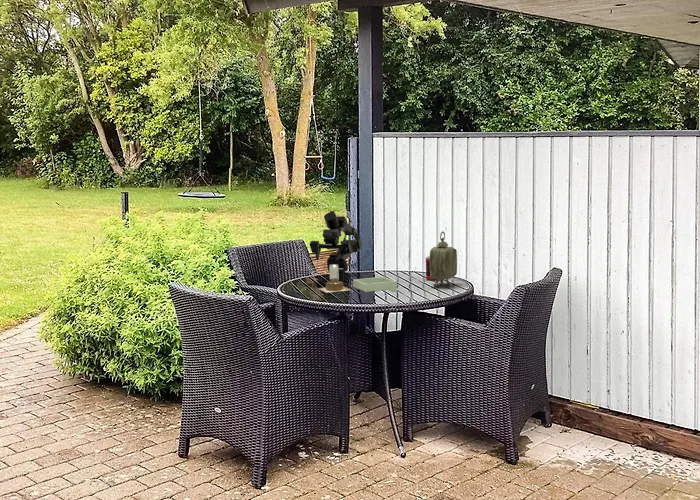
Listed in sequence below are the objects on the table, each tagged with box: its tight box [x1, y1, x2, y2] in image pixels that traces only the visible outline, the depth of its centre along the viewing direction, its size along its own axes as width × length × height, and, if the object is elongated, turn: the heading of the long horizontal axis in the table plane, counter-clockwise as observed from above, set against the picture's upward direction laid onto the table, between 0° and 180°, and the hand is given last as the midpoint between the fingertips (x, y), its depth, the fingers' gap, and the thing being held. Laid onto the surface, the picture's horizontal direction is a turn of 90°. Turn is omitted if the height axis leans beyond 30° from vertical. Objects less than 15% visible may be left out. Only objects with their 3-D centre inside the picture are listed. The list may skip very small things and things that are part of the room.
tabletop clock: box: [429, 231, 458, 288], centre depth 354 cm, size 14×9×25 cm, turn 157°
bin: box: [352, 276, 398, 293], centre depth 350 cm, size 15×15×4 cm
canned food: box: [425, 255, 441, 282], centre depth 373 cm, size 8×8×11 cm
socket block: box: [318, 281, 352, 294], centre depth 350 cm, size 12×12×4 cm
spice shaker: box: [328, 264, 340, 284], centre depth 349 cm, size 5×5×11 cm
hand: (326, 259), depth 354 cm, fingers open, 9 cm apart
